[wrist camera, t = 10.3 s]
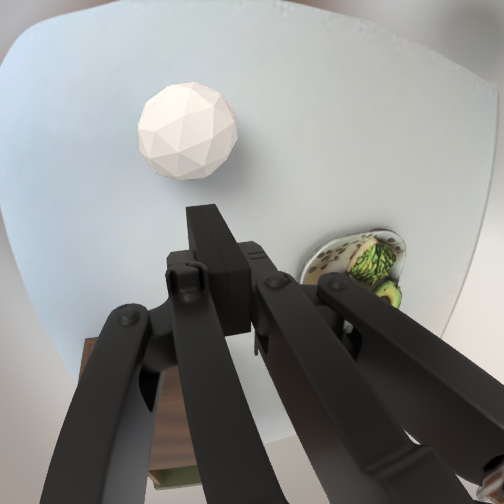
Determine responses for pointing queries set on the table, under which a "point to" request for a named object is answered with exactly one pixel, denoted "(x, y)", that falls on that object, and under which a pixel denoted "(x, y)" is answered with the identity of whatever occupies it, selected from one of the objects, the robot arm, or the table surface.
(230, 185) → the table surface
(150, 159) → the geometric ball
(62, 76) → the table surface
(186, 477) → the drawer
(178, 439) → the cabinet
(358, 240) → the salad plate
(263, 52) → the table surface
